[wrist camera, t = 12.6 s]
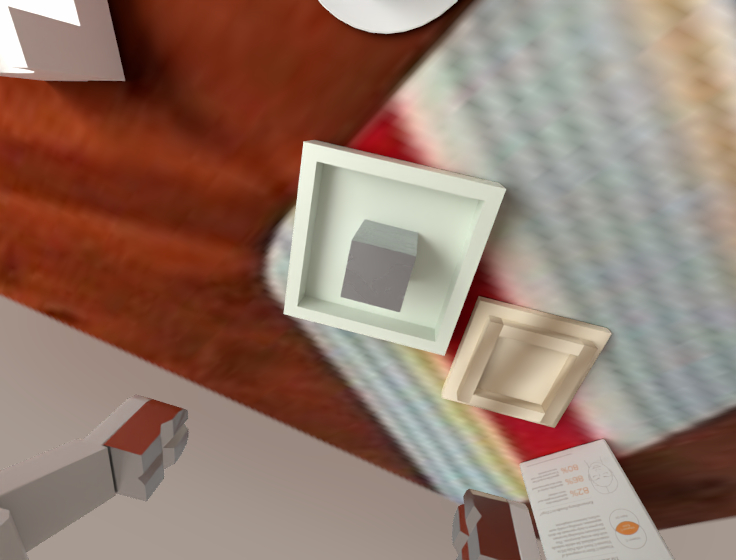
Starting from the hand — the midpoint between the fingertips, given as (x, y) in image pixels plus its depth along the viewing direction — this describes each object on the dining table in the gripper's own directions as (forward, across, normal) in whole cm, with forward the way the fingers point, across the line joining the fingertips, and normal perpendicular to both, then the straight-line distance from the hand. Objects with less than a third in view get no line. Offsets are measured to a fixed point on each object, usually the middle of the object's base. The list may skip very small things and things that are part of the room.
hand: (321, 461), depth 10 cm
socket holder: (+19, -13, +7) cm, 24 cm away
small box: (+19, -22, +17) cm, 34 cm away
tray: (+19, 0, 0) cm, 19 cm away
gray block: (+18, 0, 0) cm, 18 cm away
